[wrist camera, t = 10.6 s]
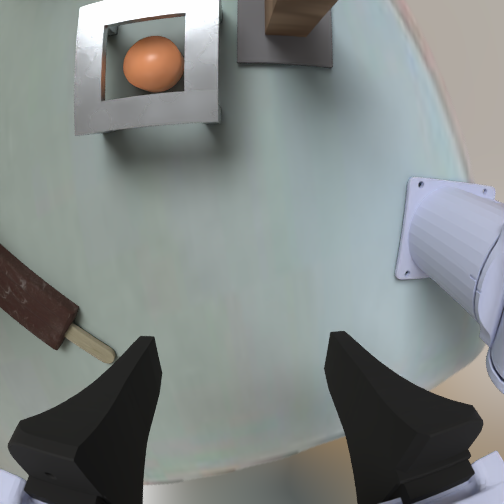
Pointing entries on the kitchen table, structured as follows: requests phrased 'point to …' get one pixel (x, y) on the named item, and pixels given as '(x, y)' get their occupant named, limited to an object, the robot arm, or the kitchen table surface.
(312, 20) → the stylus stick
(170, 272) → the kitchen table surface
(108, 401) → the robot arm
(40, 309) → the ice cream bar
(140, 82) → the button
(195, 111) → the guard frame
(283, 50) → the pad
